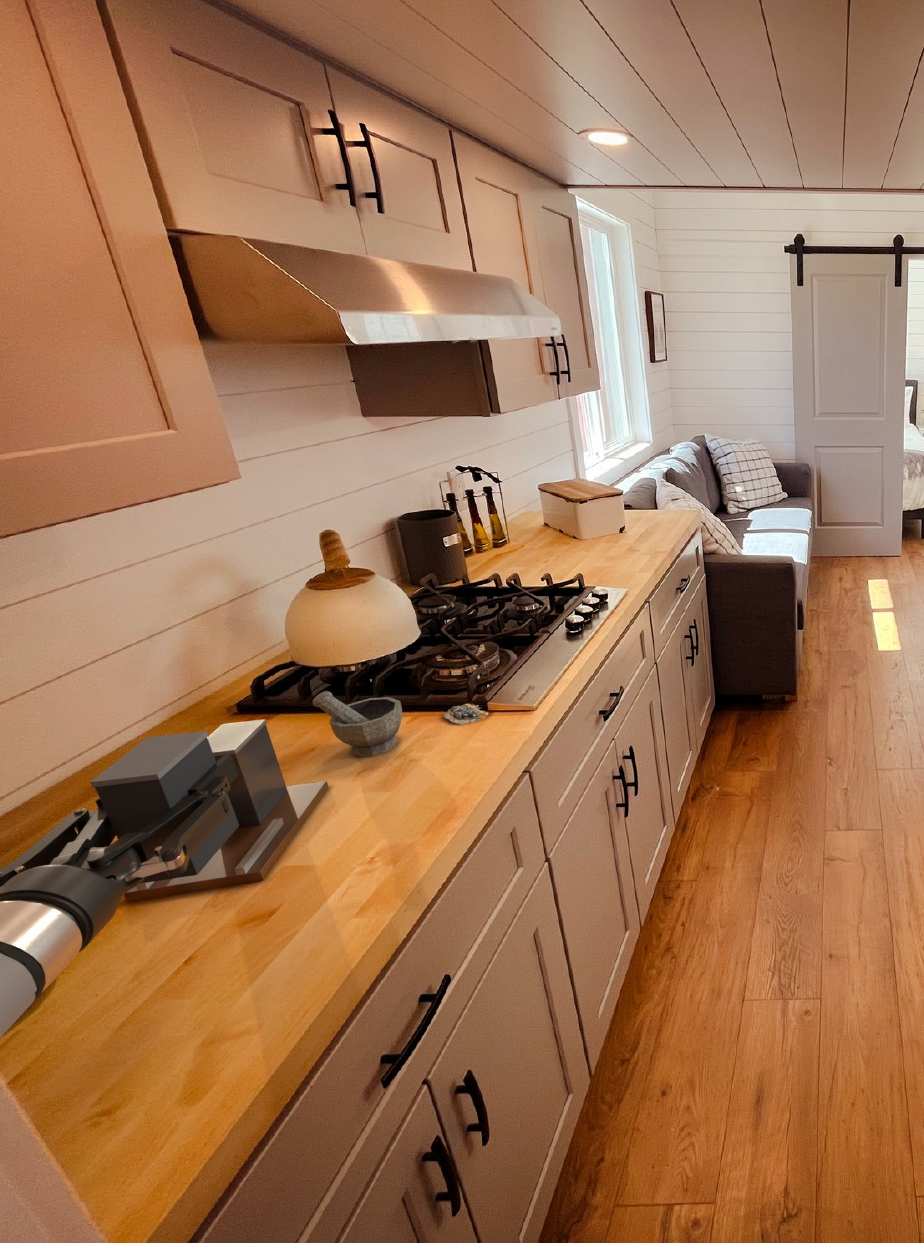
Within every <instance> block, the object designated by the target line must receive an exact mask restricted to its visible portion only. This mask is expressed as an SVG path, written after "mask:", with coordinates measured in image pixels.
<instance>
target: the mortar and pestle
mask: <svg viewBox="0 0 924 1243" xmlns="http://www.w3.org/2000/svg"><path fill="white" fill-rule="evenodd" d="M312 705H313V706H314V707H316V708H320V710H322V711H323V712H324V713H326V714H327V715H328V716H329V717H330V720H329V725H330V728H331V730H332V732H333V734H334V737H335V738H337V739H338V740H339V741H341V742H342V743H343V744H345V745H348V746H350V747H352V754H353V755H355V756H357V757H359V758H361V757H373V756H377V755H381V754H383V753H386V752H388V751H390V750H391V749H392V748H394V747H395V746H397V741H398V738H397V736H396V734H397V733H398V732H399V730H400V727H401V724H402V719H403V707H402V704H401V700H398V699H396V698H393V697H390V696H385V697H369V698H365V699H362V700H359V701H355V702H351V703H349V704H345V703H343V702H342V701H341V700H339V699H337V698H336V697H335V696H334V695H333V693H332V692H330V691H328V690H324V691H321V692H320V693H319V694H317V695H316V696H315V697H314V699H313V700H312Z"/></svg>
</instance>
